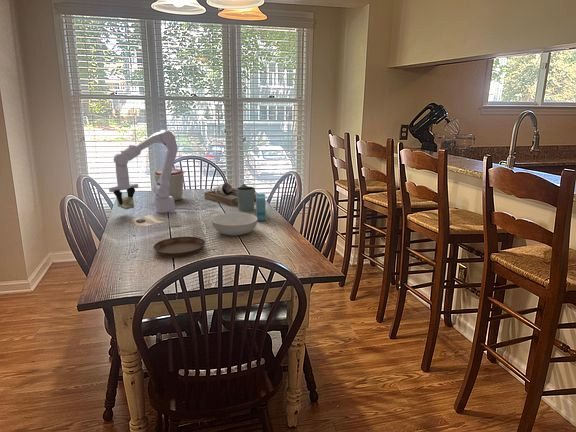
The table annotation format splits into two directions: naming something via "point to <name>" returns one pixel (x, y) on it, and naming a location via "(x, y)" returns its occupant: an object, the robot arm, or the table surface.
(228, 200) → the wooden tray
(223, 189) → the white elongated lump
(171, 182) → the canister
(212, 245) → the table surface
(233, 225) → the serving bowl
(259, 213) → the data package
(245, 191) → the green lidded jar
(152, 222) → the board
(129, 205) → the block
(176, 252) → the plant saucer
